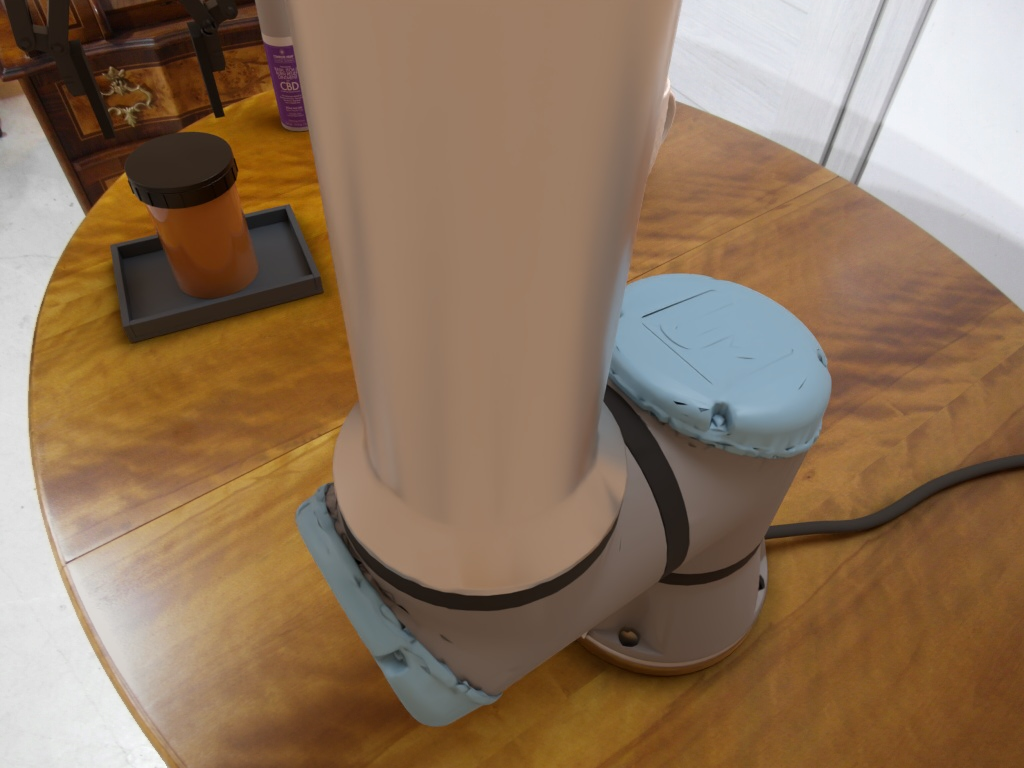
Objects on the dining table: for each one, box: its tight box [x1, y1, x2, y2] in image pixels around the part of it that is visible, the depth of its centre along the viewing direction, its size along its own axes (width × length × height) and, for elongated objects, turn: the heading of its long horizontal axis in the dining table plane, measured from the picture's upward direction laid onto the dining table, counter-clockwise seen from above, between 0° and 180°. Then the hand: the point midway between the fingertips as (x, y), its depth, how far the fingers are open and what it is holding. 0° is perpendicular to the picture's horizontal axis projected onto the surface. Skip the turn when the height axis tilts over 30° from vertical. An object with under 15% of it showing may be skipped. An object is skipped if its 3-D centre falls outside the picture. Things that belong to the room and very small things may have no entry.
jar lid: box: [123, 131, 239, 209], centre depth 65 cm, size 9×9×2 cm
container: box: [254, 0, 309, 132], centre depth 87 cm, size 5×5×15 cm
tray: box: [109, 203, 325, 344], centre depth 73 cm, size 17×12×2 cm
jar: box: [144, 182, 259, 299], centre depth 69 cm, size 8×8×12 cm
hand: (164, 119), depth 62 cm, fingers open, 8 cm apart
